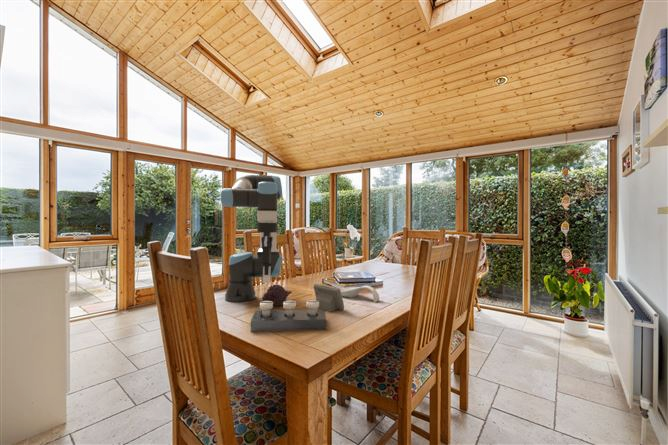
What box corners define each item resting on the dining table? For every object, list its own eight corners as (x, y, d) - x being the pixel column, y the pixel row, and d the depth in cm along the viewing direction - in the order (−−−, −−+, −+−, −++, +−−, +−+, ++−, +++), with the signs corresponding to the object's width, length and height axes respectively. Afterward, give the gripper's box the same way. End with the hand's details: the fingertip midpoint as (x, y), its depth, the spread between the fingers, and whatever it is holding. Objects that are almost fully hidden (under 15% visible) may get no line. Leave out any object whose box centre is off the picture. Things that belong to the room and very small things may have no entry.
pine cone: (269, 312, 136) (269, 289, 136) (254, 308, 142) (254, 286, 142) (296, 303, 151) (296, 283, 151) (281, 299, 157) (281, 280, 156)
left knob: (258, 319, 117) (259, 304, 117) (260, 314, 122) (260, 300, 122) (272, 318, 117) (272, 303, 117) (273, 314, 122) (273, 300, 122)
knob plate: (250, 331, 113) (250, 321, 113) (255, 320, 125) (255, 311, 125) (326, 329, 116) (326, 319, 116) (323, 319, 128) (323, 309, 128)
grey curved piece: (333, 296, 166) (333, 283, 165) (345, 292, 175) (345, 280, 175) (372, 304, 152) (372, 290, 152) (383, 299, 161) (383, 285, 161)
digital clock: (346, 310, 141) (346, 287, 141) (330, 314, 135) (331, 290, 135) (325, 302, 153) (325, 281, 153) (310, 305, 148) (310, 283, 148)
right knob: (306, 318, 119) (306, 303, 119) (306, 313, 124) (306, 299, 124) (319, 317, 119) (319, 302, 119) (318, 313, 124) (318, 299, 124)
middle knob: (282, 318, 118) (283, 303, 118) (283, 314, 123) (283, 300, 123) (296, 318, 118) (296, 303, 118) (296, 314, 123) (296, 299, 123)
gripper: (275, 222, 113) (275, 286, 113) (278, 222, 126) (277, 279, 126) (255, 222, 112) (254, 286, 112) (259, 221, 125) (258, 279, 125)
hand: (266, 282), depth 119 cm, fingers closed
